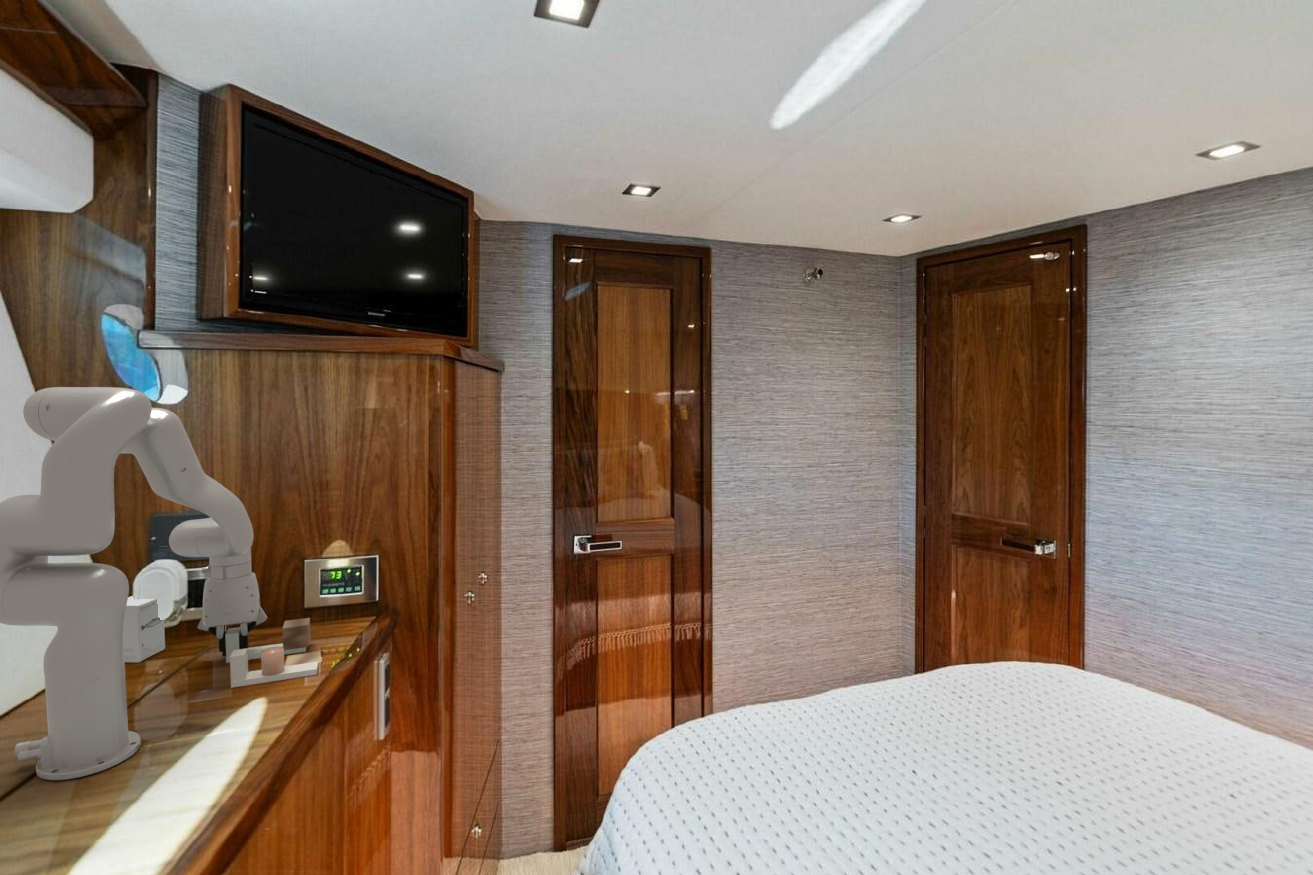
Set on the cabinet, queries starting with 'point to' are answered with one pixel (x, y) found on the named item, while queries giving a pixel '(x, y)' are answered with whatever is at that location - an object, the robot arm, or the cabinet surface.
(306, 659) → the pad
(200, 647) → the cabinet surface
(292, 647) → the block
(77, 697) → the robot arm
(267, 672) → the pink cylinder
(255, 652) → the white l-shaped piece
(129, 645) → the supplement box
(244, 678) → the strip
